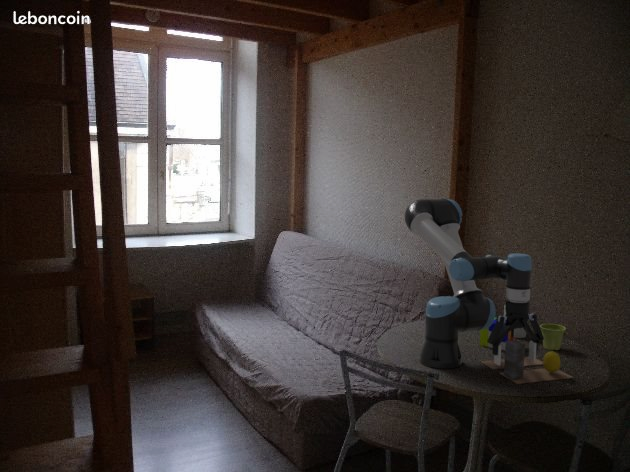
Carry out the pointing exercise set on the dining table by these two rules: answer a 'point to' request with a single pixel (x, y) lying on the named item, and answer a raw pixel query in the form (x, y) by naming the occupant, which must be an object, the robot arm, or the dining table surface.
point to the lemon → (551, 361)
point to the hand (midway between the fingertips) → (514, 362)
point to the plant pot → (552, 336)
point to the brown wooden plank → (501, 366)
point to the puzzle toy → (486, 333)
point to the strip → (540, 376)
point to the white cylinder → (519, 331)
